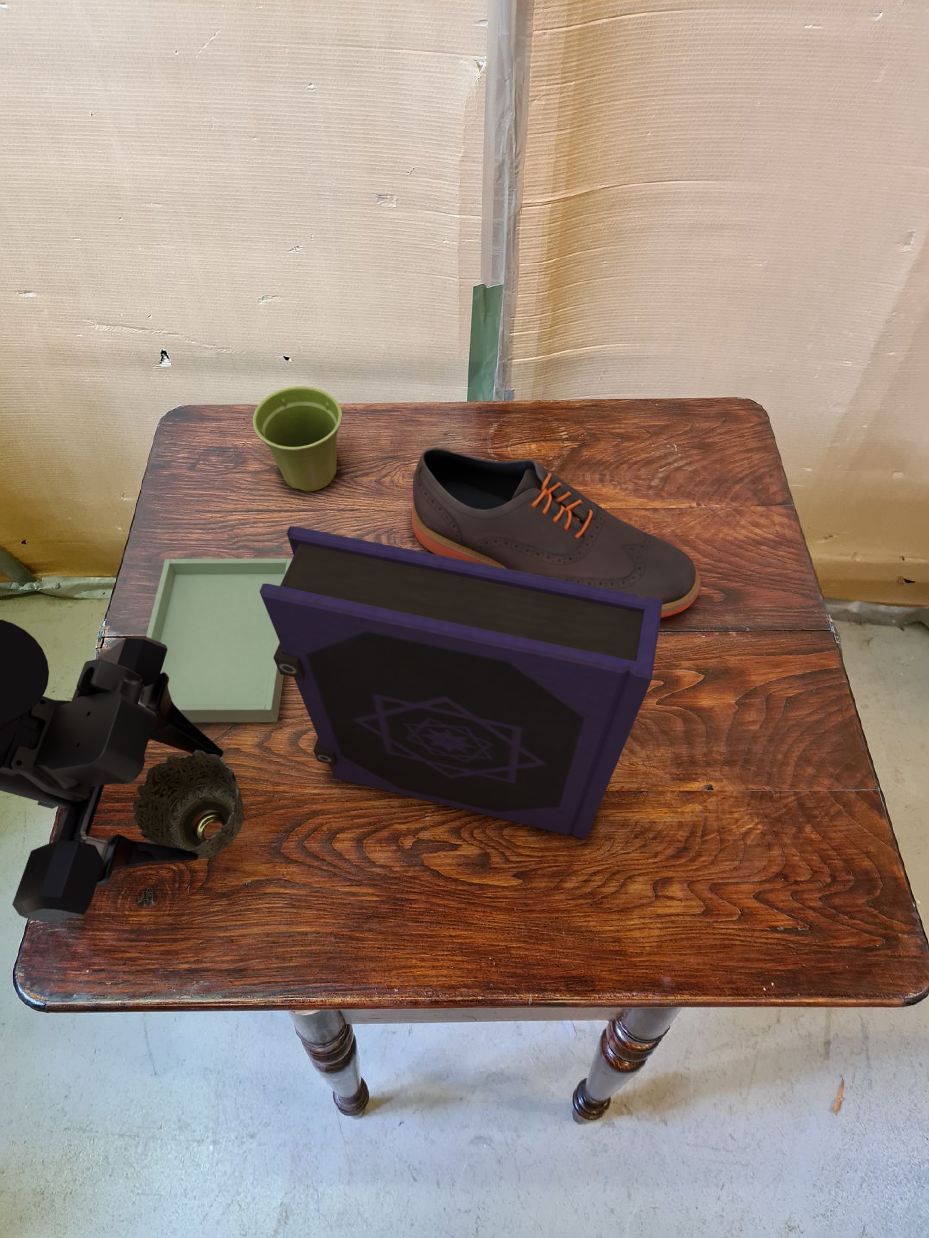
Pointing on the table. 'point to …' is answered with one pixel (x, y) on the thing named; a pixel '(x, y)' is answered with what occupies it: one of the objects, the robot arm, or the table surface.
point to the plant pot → (301, 434)
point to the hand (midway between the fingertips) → (208, 805)
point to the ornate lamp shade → (190, 804)
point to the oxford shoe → (541, 529)
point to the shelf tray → (219, 638)
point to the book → (462, 676)
